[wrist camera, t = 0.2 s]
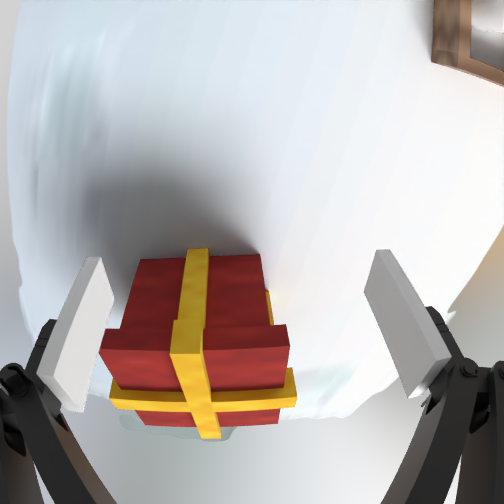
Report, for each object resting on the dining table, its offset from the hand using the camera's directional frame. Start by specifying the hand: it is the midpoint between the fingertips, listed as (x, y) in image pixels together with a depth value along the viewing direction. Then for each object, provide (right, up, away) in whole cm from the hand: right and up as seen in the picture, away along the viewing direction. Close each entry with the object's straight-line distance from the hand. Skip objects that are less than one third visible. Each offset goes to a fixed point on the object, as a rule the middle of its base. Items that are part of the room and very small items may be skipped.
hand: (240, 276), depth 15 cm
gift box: (-8, -7, +40) cm, 41 cm away
